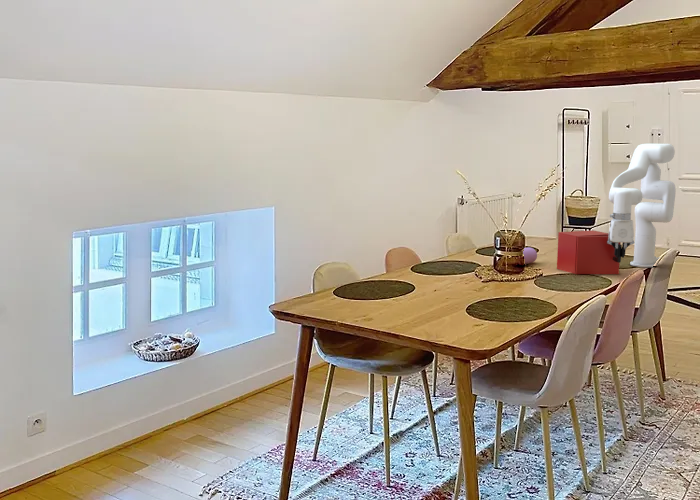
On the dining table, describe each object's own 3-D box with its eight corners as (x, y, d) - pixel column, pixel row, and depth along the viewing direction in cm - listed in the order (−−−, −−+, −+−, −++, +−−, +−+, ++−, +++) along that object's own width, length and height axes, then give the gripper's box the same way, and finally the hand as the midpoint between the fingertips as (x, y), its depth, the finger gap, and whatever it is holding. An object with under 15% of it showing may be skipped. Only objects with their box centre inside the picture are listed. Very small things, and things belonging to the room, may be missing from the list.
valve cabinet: (609, 271, 339) (612, 233, 336) (574, 274, 332) (576, 236, 329) (590, 266, 352) (592, 230, 349) (556, 268, 345) (558, 232, 343)
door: (624, 276, 325) (626, 238, 322) (580, 276, 325) (582, 238, 322) (618, 273, 332) (620, 236, 329) (575, 273, 332) (577, 236, 329)
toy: (524, 262, 366) (506, 266, 351) (525, 246, 366) (507, 248, 350) (539, 264, 362) (521, 267, 346) (540, 247, 361) (523, 250, 345)
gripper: (606, 217, 318) (604, 258, 321) (642, 218, 316) (640, 258, 319) (601, 215, 325) (599, 255, 328) (637, 216, 324) (634, 255, 327)
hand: (619, 256), depth 324 cm, fingers closed on door
